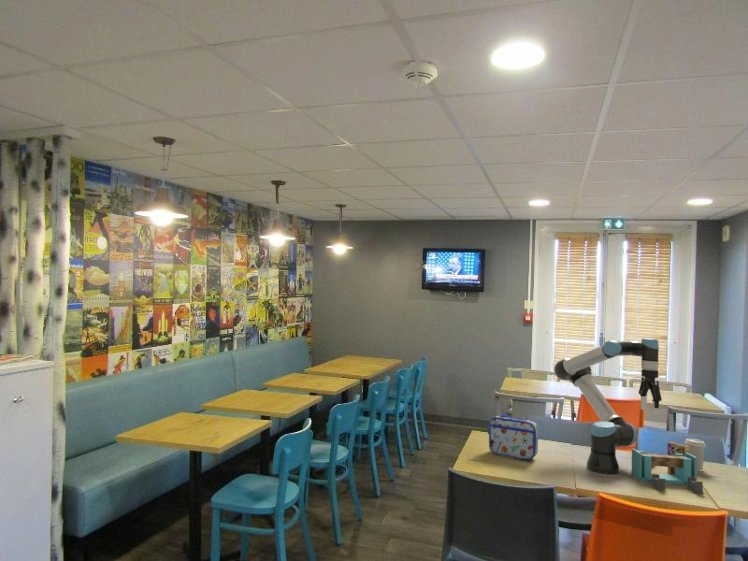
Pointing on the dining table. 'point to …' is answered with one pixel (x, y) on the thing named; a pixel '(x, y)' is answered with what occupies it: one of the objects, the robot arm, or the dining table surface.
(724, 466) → the dining table surface
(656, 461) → the rail
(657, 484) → the rests
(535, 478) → the dining table surface
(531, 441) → the lunch box
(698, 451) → the coffee cup
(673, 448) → the candy box
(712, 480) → the dining table surface
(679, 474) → the bracket
